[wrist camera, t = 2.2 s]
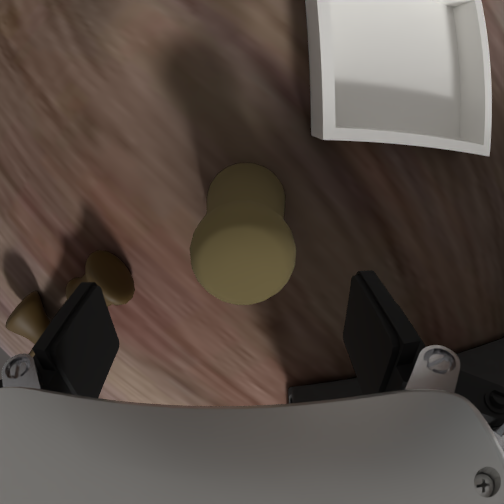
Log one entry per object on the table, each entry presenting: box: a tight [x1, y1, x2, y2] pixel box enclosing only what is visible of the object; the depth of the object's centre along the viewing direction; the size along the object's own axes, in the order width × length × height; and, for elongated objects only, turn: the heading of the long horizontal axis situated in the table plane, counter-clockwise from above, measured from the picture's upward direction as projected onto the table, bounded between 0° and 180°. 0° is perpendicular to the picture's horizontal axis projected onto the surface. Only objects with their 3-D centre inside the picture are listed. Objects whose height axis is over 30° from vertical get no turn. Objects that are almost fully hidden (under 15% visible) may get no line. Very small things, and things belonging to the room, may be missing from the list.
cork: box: [190, 163, 296, 305], centre depth 19 cm, size 6×6×11 cm
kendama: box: [6, 250, 135, 357], centre depth 26 cm, size 6×10×20 cm
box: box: [305, 0, 492, 157], centre depth 17 cm, size 14×14×4 cm
